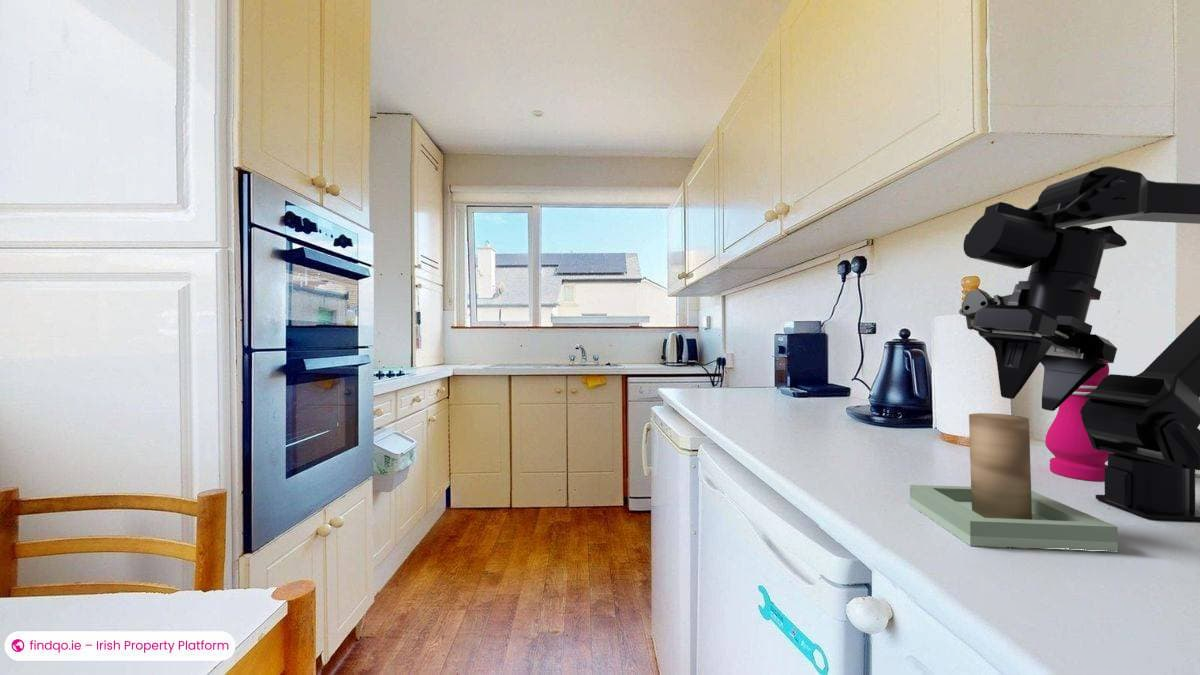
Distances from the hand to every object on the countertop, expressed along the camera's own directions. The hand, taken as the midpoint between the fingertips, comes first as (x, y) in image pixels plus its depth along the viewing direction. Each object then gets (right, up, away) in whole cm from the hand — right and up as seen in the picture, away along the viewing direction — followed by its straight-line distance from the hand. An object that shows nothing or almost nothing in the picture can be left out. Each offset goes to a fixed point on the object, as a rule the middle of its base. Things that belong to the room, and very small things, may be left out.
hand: (1028, 404), depth 54 cm
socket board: (-7, -13, -4) cm, 15 cm away
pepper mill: (+20, -13, +13) cm, 27 cm away
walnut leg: (-7, -12, -4) cm, 14 cm away
